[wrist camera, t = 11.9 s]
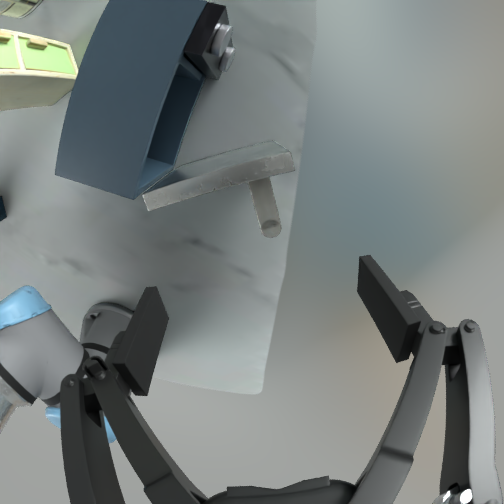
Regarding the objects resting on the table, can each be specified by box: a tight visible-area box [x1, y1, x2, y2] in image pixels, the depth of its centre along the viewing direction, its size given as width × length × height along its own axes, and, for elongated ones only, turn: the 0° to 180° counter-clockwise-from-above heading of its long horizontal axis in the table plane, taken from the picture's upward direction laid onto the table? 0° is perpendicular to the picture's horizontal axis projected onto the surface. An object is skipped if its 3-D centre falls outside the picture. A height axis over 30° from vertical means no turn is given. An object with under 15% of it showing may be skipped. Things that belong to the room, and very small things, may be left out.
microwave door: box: [142, 140, 295, 238], centre depth 29 cm, size 8×13×14 cm, turn 105°
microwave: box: [55, 0, 236, 200], centre depth 23 cm, size 11×18×14 cm, turn 159°
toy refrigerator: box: [0, 29, 79, 111], centre depth 16 cm, size 8×7×21 cm
